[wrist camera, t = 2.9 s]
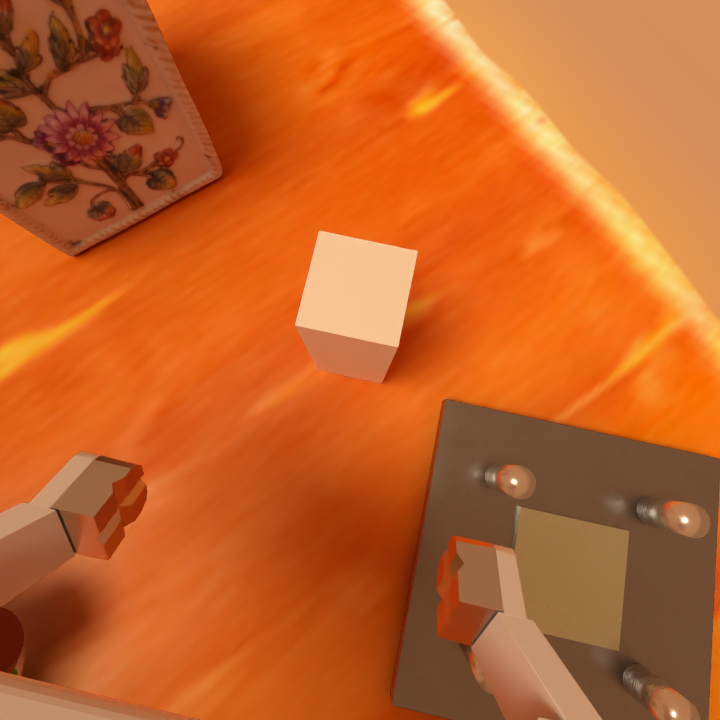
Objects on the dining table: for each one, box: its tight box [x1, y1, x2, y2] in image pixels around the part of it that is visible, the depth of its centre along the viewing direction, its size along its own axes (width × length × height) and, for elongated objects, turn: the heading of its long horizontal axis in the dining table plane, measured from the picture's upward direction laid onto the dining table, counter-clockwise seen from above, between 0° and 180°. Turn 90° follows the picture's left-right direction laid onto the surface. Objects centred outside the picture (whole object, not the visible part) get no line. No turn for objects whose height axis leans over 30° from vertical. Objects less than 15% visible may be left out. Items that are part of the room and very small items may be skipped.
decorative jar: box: [0, 0, 223, 256], centre depth 20 cm, size 12×12×18 cm
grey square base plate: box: [390, 399, 720, 720], centre depth 22 cm, size 16×16×4 cm
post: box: [295, 231, 418, 384], centre depth 21 cm, size 4×4×10 cm
